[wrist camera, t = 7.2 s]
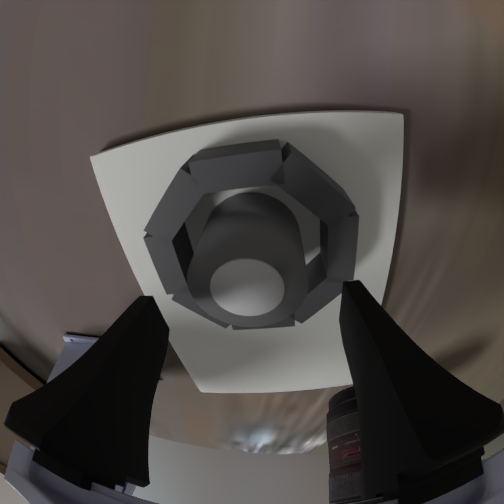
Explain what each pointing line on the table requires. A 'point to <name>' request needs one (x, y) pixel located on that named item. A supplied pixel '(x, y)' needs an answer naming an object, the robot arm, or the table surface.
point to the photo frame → (12, 400)
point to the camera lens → (345, 450)
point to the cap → (249, 262)
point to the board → (288, 192)
